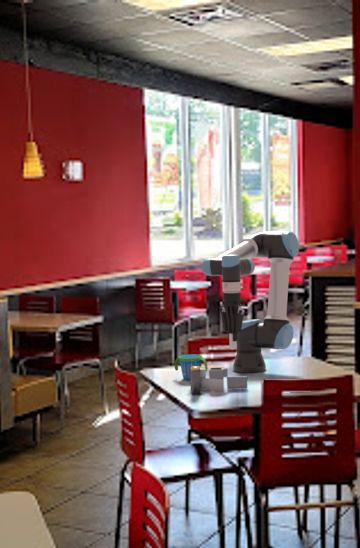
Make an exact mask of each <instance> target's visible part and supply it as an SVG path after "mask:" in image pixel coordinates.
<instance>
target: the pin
mask: <svg viewBox="0 0 360 548" xmlns="http://www.w3.org/2000/svg"><path fill="white" fill-rule="evenodd" d="M191 377H192V390H191V394H192V396H201V395H202V390H201V381H200V367H199V366H193V367H191Z"/></svg>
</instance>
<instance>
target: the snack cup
mask: <svg viewBox="0 0 360 548" xmlns="http://www.w3.org/2000/svg"><path fill="white" fill-rule="evenodd" d="M178 361H179V364H180V370H181V374H182V378H183V380H186V381H191V377H190V368H191V367H193V366H199V367H202V362H203V365H204V367H205V369H206V373H207V372H208V370H209V367H208V362H207V360H206V359H205V358H204V357H203V355H201V354H195V353H194V354H183V355H180V356H178V357H177V358H176V359H175V362H174V370H175V371H178V370H179V366H178Z"/></svg>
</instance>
